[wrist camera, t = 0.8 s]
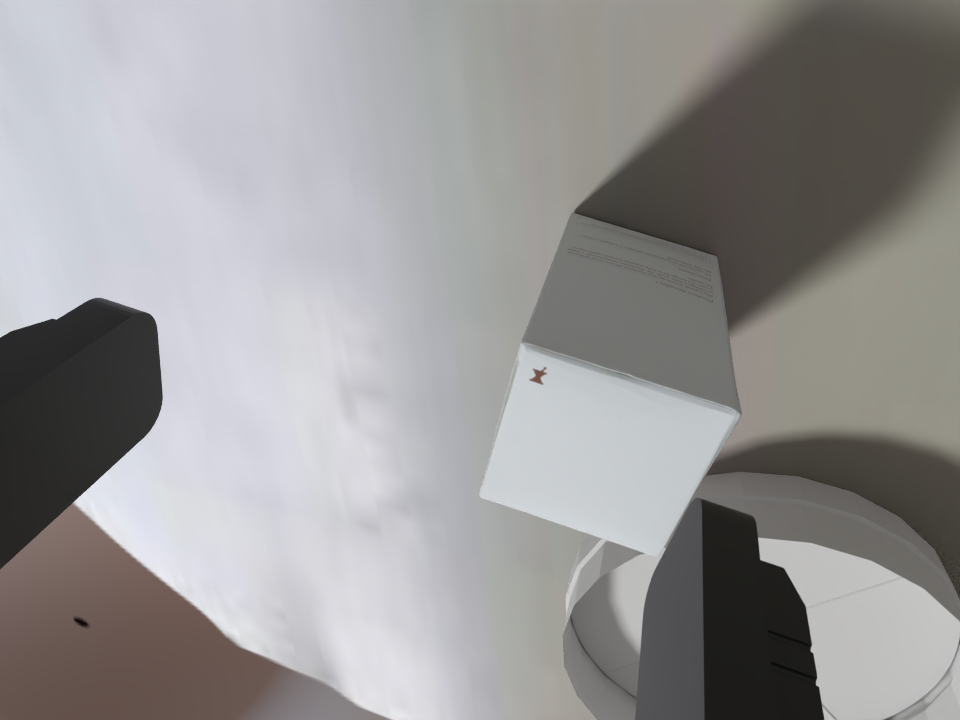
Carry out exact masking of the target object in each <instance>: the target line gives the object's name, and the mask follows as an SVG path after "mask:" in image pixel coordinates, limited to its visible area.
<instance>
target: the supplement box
mask: <svg viewBox="0 0 960 720" xmlns="http://www.w3.org/2000/svg"><path fill="white" fill-rule="evenodd" d="M741 415H742V412H741V407H740V403H739V398H738V393H737V388H736V382H735V375H734V368H733V361H732V354H731V347H730V338H729V332H728V324H727V317H726V310H725V303H724V295H723V288H722V282H721V277H720V271H719V265H718V258H717V256H714V255H711V254H708V253H704V252H701V251H698V250H695V249H692V248H689V247H686V246H682V245H679V244H676V243H672V242H669V241H666V240H662V239H659V238H656V237H652V236H649V235H646V234H642V233H639V232H636V231H632V230H629V229H626V228H622V227H619V226H616V225H612V224H609V223H606V222H602V221H599V220H595V219H592V218H589V217H585V216H582V215H579V214H576V213H572V214H571V216H570V218H569V220H568V223H567V225H566V228H565V230H564V233H563V235H562V238H561V241H560V244H559V246H558V249H557V252H556V254H555V257H554V259H553V262H552V264H551V267H550V269H549V272H548V275H547V277H546V280H545V283H544V285H543V288H542V290H541V293H540V296H539V298H538V301H537V303H536V306H535V308H534V311H533V313H532V316H531V319H530V321H529V324H528V327H527V329H526V332H525V334H524V336H523V339H522V342H521V345H520V348H519V351H518V354H517V357H516V361H515V364H514V367H513V370H512V373H511V377H510V380H509V383H508V387H507V390H506V394H505V397H504V401H503V404H502V408H501V412H500V415H499V419H498V423H497V427H496V430H495V434H494V438H493V442H492V446H491V450H490V454H489V458H488V462H487V466H486V470H485V474H484V478H483V482H482V485H481V489H480V494H479V496H480V497H481V498H484V499H487V500H490V501H493V502H496V503H499V504H502V505H505V506H508V507H511V508H514V509H517V510H520V511H523V512H526V513H529V514H532V515H535V516H538V517H541V518H544V519H547V520H550V521H552V522H555V523H558V524H561V525H564V526H567V527H570V528H573V529H576V530H579V531H582V532H585V533H588V534H590V535H593V536H596V537H599V538H602V539H605V540H608V541H611V542H614V543H617V544H620V545H622V546H625V547H628V548H631V549H634V550H637V551H640V552H643V553H645V554H648V555H651V556H654V557H659V556H660V554H661V552H662V550H663V549H664V547H665V545H666V543H667V541H668V540H669V538H670V536H671V534H672V532H673V530H674V529H675V527H676V525H677V523H678V521H679V520H680V518H681V516H682V514H683V512H684V511H685V509H686V507H687V506H688V504H689V502H690V501H691V499H692V497H693V496H694V494H695V492H696V491H697V489H698V487H699V486H700V484H701V482H702V481H703V479H704V477H705V476H706V474H707V472H708V471H709V469H710V467H711V466H712V464H713V462H714V461H715V459H716V457H717V456H718V454H719V452H720V451H721V449H722V447H723V446H724V444H725V442H726V441H727V439H728V437H729V436H730V434H731V432H732V431H733V429H734V427H735V426H736V424H737V423H738V421H739V419H740V418H741Z"/></svg>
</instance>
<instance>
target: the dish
mask: <svg viewBox="0 0 960 720" xmlns="http://www.w3.org/2000/svg"><path fill="white" fill-rule="evenodd" d="M695 498H701V499H704V500H707V501H710V502H713V503H716V504H719V505H722V506H725V507H728V508H731V509H734V510H737V511H740V512H743V513H746V514H749V515H752V516H753V517H754V518H755V521H756V525H757V533H758V542H759V552H760V560H762V561H765V562H768V563H771V564H774V565H777V566H780V567H783V568H784V569H785V570H786V572H787V574H788V576H789V578H790V579H791V581H792V583H793V585H794V586H795V588H796V590H797V592H798V594H799V595H800V597H801V599H802V601H803V602H804V604H805V606H806V611H807V617H808V623H809V629H810V635H811V641H812V646H811V652H812V653H814V659H815V665H816V671H817V680H816V686H818V687H819V690H820V696H821V702H822V708H823V714H824V720H960V599H959V597H958V595H957V593H956V590H955V588H954V586H953V584H952V582H951V580H950V578H949V576H948V574H947V572H946V570H945V568H944V566H943V564H942V563H941V561H940V559H939V557H938V555H937V553H936V551H935V549H934V548H933V547H931V546H930V545H929V544H928V543H927V542H926V541H925V540H924V539H923V538H922V537H921V536H920V535H919V534H917V533H916V532H915V531H914V530H913V529H912V528H911V527H910V526H909V525H908V524H907V523H906V522H905V521H903V520H902V519H901V518H900V517H898V516H897V515H895V514H893V513H891V512H889V511H887V510H885V509H884V508H882V507H880V506H878V505H876V504H874V503H872V502H871V501H869V500H867V499H865V498H863V497H861V496H859V495H857V494H856V493H854V492H851V491H848V490H844V489H841V488H837V487H834V486H830V485H827V484H823V483H820V482H816V481H813V480H809V479H806V478H802V477H799V476H789V475H776V474H763V473H751V472H733V473H724V474H715V475H706V476H705V477H704V479H703V481H702V482H701V484H700V486H699V487H698V489H697V491H696V492H695V494H694V496H693V497H692V499H691V501H690V502H689V504H688V506H687V507H686V509H685V511H684V512H683V514H682V516H681V518H680V520H679V521H678V523H677V525H676V527H675V529H674V530H673V532H672V534H671V536H670V538H669V540H668V541H667V543H666V545H665V547H664V549H663V550H662V552H661V554H660V556H659V557H654V556H651V555H648V554H645V553H643V552H640V551H637V550H634V549H631V548H628V547H625V546H622V545H620V544H617V543H614V542H611V541H608V540H605V539H602V538H599V537H596V536H593V535H590V534H589V535H588V536H587V537H586V538H585V540H584V541H583V542H582V543H581V545H580V548H579V551H578V554H577V556H576V559H575V562H574V565H573V567H572V570H571V573H570V578H569V584H568V590H567V595H566V621H565V626H564V631H563V651H564V666H565V668H566V671H567V673H568V675H569V678H570V680H571V682H572V684H573V687H574V689H575V691H576V694H577V696H578V697H579V698H580V699H581V700H582V702H583V703H584V704H585V705H586V706H587V708H588V709H589V710H590V711H591V712H592V714H593V715H594V716H595V717H596V718H597V720H635V714H636V701H637V687H638V674H639V661H640V648H641V635H642V621H643V610H644V604H645V599H646V595H647V591H648V587H649V584H650V581H651V578H652V575H653V573H654V571H655V569H656V567H657V565H658V563H659V561H660V559H661V557H662V555H663V553H664V551H665V550H666V548H667V546H668V544H669V542H670V540H671V538H672V536H673V535H674V533H675V531H676V529H677V527H678V525H679V523H680V521H681V520H682V518H683V516H684V514H685V512H686V510H687V508H688V507H689V505H690V503H691V502H692V501H693V500H694V499H695Z"/></svg>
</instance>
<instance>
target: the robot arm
mask: <svg viewBox="0 0 960 720" xmlns="http://www.w3.org/2000/svg"><path fill="white" fill-rule="evenodd" d="M162 399H163V395H162V382H161V369H160V357H159V345H158V332H157V325H156V322H155V320H154V318H153V317H152V316H151V315H150V314H148V313H146V312H143V311H140V310H137V309H134V308H131V307H128V306H125V305H122V304H119V303H115V302H112V301H109V300H106V299H103V298H94V299H91V300H89V301H87V302H85V303H83V304H82V305H80V306H78V307H77V308H75V309H73V310H72V311H70V312H69V313H67V314H65V315H64V316H62V317H60V318H59V319H57V320H55V319H50V320H47V321H44V322H41V323H37V324H34V325H31V326H28V327H24V328H21V329H18V330H14V331H11V332H9V333H8V334H6V335H4V336H2V337H1V338H0V569H1V568H2V567H3V566H4V565H5V564H6V563H7V562H9V561H10V560H11V559H12V558H13V557H14V556H15V555H16V554H17V553H18V552H19V551H20V550H22V549H23V548H24V547H25V546H26V545H27V544H28V543H29V542H30V541H31V540H33V539H34V538H35V537H36V536H37V535H38V534H39V533H40V532H41V531H42V530H44V528H46V527H47V526H48V525H49V524H50V523H51V522H52V521H53V520H54V519H56V518H57V517H58V516H59V515H60V514H61V513H62V512H63V511H64V510H65V509H66V508H67V507H68V506H70V505H71V504H72V503H73V502H74V501H75V500H76V499H77V498H78V497H79V496H81V495H82V494H83V493H84V492H85V491H86V490H87V489H88V488H89V487H90V486H91V485H93V484H94V483H95V482H96V481H97V480H98V479H99V478H100V477H101V476H102V475H103V474H105V473H106V472H107V471H108V470H109V469H110V468H111V467H112V466H113V465H114V464H115V463H117V462H118V461H119V460H120V459H121V458H122V457H123V456H124V455H125V454H126V453H127V452H129V451H130V450H131V449H132V448H133V447H134V446H135V445H136V444H137V443H138V442H139V441H141V440H142V439H143V438H144V437H145V436H146V435H147V434H148V432H149V431H150V430H151V428H152V427H153V425H154V424H155V422H156V420H157V418H158V415H159V413H160V410H161V406H162ZM811 646H812V641H811V635H810V629H809V623H808V617H807V611H806V606H805V604H804V602H803V601H802V599H801V597H800V595H799V594H798V592H797V590H796V588H795V586H794V585H793V583H792V581H791V579H790V578H789V576H788V574H787V572H786V570H785V569H784V568H783V567H780V566H777V565H774V564H771V563H768V562H765V561H762V560H760V552H759V542H758V533H757V525H756V521H755V518H754V517H753V516H752V515H749V514H746V513H743V512H740V511H737V510H734V509H731V508H728V507H725V506H722V505H719V504H716V503H713V502H710V501H707V500H704V499H701V498H695V499H694V500H693V501H692V502H691V503H690V505H689V507H688V508H687V510H686V512H685V514H684V516H683V518H682V520H681V521H680V523H679V525H678V527H677V529H676V531H675V533H674V535H673V536H672V538H671V540H670V542H669V544H668V546H667V548H666V550H665V551H664V553H663V555H662V557H661V559H660V561H659V563H658V565H657V567H656V569H655V571H654V573H653V575H652V578H651V581H650V584H649V587H648V591H647V595H646V599H645V604H644V610H643V621H642V635H641V648H640V661H639V674H638V687H637V701H636V714H635V720H824V714H823V708H822V702H821V696H820V690H819V687H818V686H816V680H817V671H816V665H815V659H814V653H812V652H811Z"/></svg>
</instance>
